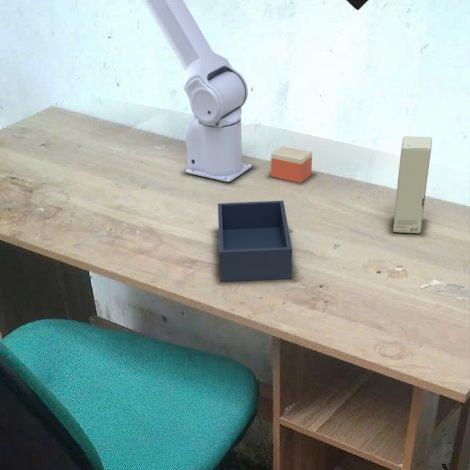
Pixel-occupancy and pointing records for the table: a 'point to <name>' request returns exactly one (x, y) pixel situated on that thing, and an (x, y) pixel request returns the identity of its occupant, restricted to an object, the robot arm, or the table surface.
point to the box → (412, 184)
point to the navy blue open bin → (254, 241)
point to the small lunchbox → (291, 164)
